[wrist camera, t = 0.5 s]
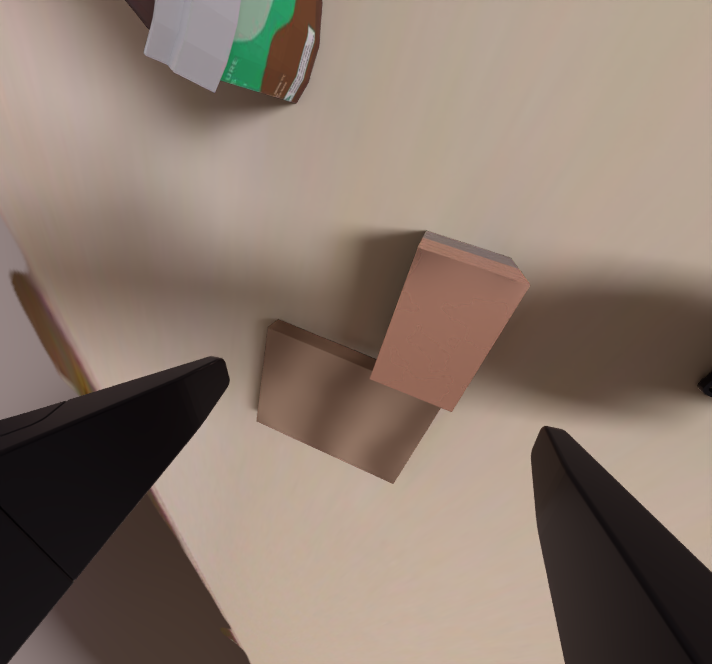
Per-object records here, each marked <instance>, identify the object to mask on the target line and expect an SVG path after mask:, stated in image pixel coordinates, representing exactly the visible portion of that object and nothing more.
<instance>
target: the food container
mask: <svg viewBox="0 0 712 664" xmlns="http://www.w3.org/2000/svg"><path fill="white" fill-rule="evenodd" d="M125 1H126V2H127V3H128V4H129V6H130V7H131V8H132V9H133V11H134V12H135V13H136V14H137V15H138V17H139V18H140V19H141V20H142V22H143V23H144V24H145V25H146V26H147V28H148V29H149V34H148V38H147V41H146V45H145V49H144V54H145V55H146V56H148V57H150V58H152V59H155V60H157V61H159V62H162V63H164V64H167V65H168V66H169V67H170V69H171V70H172V71H173V72H174V73H176V74H178V75H180V76H182V77H184V78H186V79H188V80H190V81H192V82H194V83H196V84H198V85H200V86H202V87H204V88H206V89H208V90H210V91H212V92H214V93H215V91H216V89H217V86H218V84H219V82H220V80H221V81H224V82H227V83H230V84H234V85H237V86H240V87H244V88H247V89H250V90H253V91H257V92H260V93H263V94H267V95H270V96H273V97H276V98H280V99H283V100H286V101H290V102H293V103H297V102H298V100H299V98H300V97H301V95H302V93H303V91H304V90H305V88H306V86H307V84H308V83H309V79H310V76H311V72H312V69H313V66H314V62H315V59H316V56H317V52H318V49H319V44H320V30H321V16H322V0H125Z"/></svg>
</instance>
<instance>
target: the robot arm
mask: <svg viewBox="0 0 712 664" xmlns="http://www.w3.org/2000/svg"><path fill="white" fill-rule="evenodd" d="M229 382H230V379H229V375H228V371H227V367H226V363H225V361H224V360H223V359H222V358H219V357H214V356H210V357H206V358H203V359H200V360H196V361H193V362H190V363H187V364H183V365H180V366H177V367H174V368H170V369H167V370H164V371H161V372H157V373H154V374H151V375H148V376H144V377H141V378H138V379H135V380H131V381H128V382H125V383H122V384H118V385H115V386H112V387H109V388H105V389H102V390H99V391H96V392H92V393H89V394H86V395H83V396H79V397H76V398H73V399H70V400H68V401H63V402H60V403H57V404H54V405H50V406H47V407H44V408H40V409H37V410H33V411H30V412H27V413H23V414H20V415H17V416H13V417H10V418H6V419H2V420H0V664H8V662H9V661H10V660H11V659H12V657H13V656H14V655H15V654H16V653H17V651H18V650H19V649H20V648H21V646H22V645H23V644H24V643H25V642H26V640H27V639H28V638H29V637H30V635H31V634H32V633H33V632H34V631H35V629H36V628H37V627H38V626H39V624H40V623H41V622H42V621H43V619H44V618H45V617H46V616H47V615H48V613H49V612H50V611H51V610H52V609H53V607H54V606H55V605H56V604H57V602H58V601H59V600H60V599H61V597H62V596H63V595H64V594H65V593H66V591H67V590H68V589H69V588H70V586H71V585H72V584H73V583H74V580H76V579H77V577H78V576H79V575H80V574H81V572H82V571H83V570H84V569H85V568H86V566H87V565H88V564H89V563H90V561H91V560H92V559H93V557H94V556H95V555H96V554H97V553H98V552H99V550H100V549H101V548H102V547H103V546H104V544H105V543H106V542H107V541H108V539H109V538H110V537H111V536H112V535H113V533H114V532H115V531H116V529H117V528H118V527H119V526H120V525H121V524H122V522H123V521H124V520H125V519H126V517H127V516H128V515H129V514H130V512H131V511H132V510H133V509H134V508H135V506H136V505H137V504H138V502H139V501H140V500H141V499H142V498H143V497H144V495H145V494H146V493H147V492H148V490H149V489H150V488H151V487H152V486H153V484H154V483H155V482H156V481H157V479H158V478H159V477H160V476H161V475H162V473H163V472H164V471H165V470H166V468H167V467H168V466H169V465H170V464H171V462H172V461H173V460H174V459H175V457H176V456H177V455H178V454H179V453H180V451H181V450H182V449H183V448H184V446H185V445H186V444H187V443H188V442H189V440H190V439H191V438H192V437H193V435H194V434H195V433H196V432H197V430H198V429H199V428H200V427H201V425H202V424H203V422H204V421H205V420H206V418H207V417H208V415H209V414H210V412H211V411H212V409H213V408H214V406H215V405H216V403H217V402H218V400H219V399H220V397H221V396H222V395H223V393H224V392H225V390H226V389H227V387H228V385H229ZM710 387H712V372H711V373H710V374H709V375H707V376H706V377H705V378H704V379H702V380H701V381H700V382H699V383H698V388H699V389H700V390H701V391H702V392H703V393H704V394H706V395H708V396H710V397H712V388H710ZM531 465H532V477H533V488H534V500H535V511H536V521H537V528H538V534H539V539H540V544H541V549H542V554H543V559H544V564H545V568H546V573H547V578H548V583H549V588H550V593H551V598H552V603H553V607H554V612H555V617H556V622H557V627H558V632H559V637H560V642H561V646H562V651H563V656H564V661H565V664H712V572H711V571H710V570H709V569H708V568H707V567H706V566H705V565H704V564H703V563H702V562H701V561H699V560H698V559H697V558H696V557H695V556H694V555H693V554H692V553H691V552H690V551H689V550H688V549H687V548H686V547H685V546H684V545H683V544H682V543H681V542H680V541H679V540H678V539H677V538H676V537H675V536H674V535H673V534H672V533H671V532H669V531H668V530H667V529H666V528H665V527H664V526H663V525H662V524H661V523H660V522H659V521H658V520H657V519H656V518H655V517H654V516H653V515H652V514H651V513H650V512H649V511H648V510H647V509H646V508H645V507H644V506H643V505H642V504H641V503H639V502H638V501H637V500H636V499H635V498H634V497H633V496H632V495H631V494H630V493H629V492H628V491H627V490H626V489H625V488H624V487H623V486H622V485H621V484H620V483H619V482H618V481H617V480H616V479H615V478H614V477H613V476H612V475H611V474H609V473H608V472H607V471H606V470H605V469H604V468H603V467H602V466H601V465H600V464H599V463H598V462H597V461H596V460H595V459H594V458H593V457H592V456H591V455H590V454H589V453H588V452H587V451H586V450H585V449H584V448H583V447H582V446H581V445H580V444H578V443H577V442H576V441H575V440H574V439H573V438H572V437H571V436H570V435H569V434H568V433H567V432H566V431H564V430H562V429H559V428H554V427H549V426H544V427H542V428H541V430H540V432H539V434H538V436H537V439H536V441H535V444H534V446H533V448H532V452H531Z"/></svg>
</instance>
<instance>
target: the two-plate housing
mask: <svg viewBox="0 0 712 664" xmlns="http://www.w3.org/2000/svg"><path fill="white" fill-rule="evenodd" d="M529 287H530V284H529V282H528V281H527V279H526V278H525V277H524V275H523V274H522V272H521V271H520V270H519V268H518V267H517V265H516V264H515V263H514V261H513V260H512V258H510V257H507V256H504V255H501V254H498V253H495V252H492V251H489V250H485V249H482V248H479V247H476V246H473V245H470V244H467V243H464V242H461V241H458V240H455V239H451V238H448V237H445V236H442V235H439V234H436V233H433V232H430V231H427V230H426V232H425V234H424V236H423V238H422V240H421V242H420V244H419V246H418V248H417V251H416V254H415V256H414V259H413V262H412V264H411V267H410V270H409V273H408V275H407V278H406V281H405V284H404V286H403V289H402V292H401V295H400V297H399V300H398V303H397V306H396V308H395V311H394V314H393V316H392V319H391V322H390V325H389V327H388V330H387V333H386V336H385V338H384V341H383V344H382V347H381V349H380V352H379V355H378V358H377V360H376V363H375V366H374V368H373V371H372V374H371V377H370V379H371V380H373V381H376V382H378V383H381V384H383V385H386V386H388V387H391V388H393V389H396V390H398V391H401V392H403V393H406V394H408V395H411V396H413V397H416V398H418V399H420V400H423V401H425V402H428V403H430V404H433V405H435V406H438V407H440V408H443V409H445V410H448V411H450V412H452V411H453V409H454V407H455V406H456V404H457V403H458V401H459V399H460V398H461V396H462V395H463V393H464V391H465V390H466V388H467V387H468V385H469V383H470V382H471V380H472V378H473V377H474V375H475V374H476V372H477V370H478V369H479V367H480V366H481V364H482V362H483V361H484V359H485V357H486V356H487V354H488V353H489V351H490V349H491V348H492V346H493V345H494V343H495V341H496V340H497V338H498V337H499V335H500V333H501V332H502V330H503V328H504V327H505V325H506V324H507V322H508V320H509V319H510V317H511V316H512V314H513V312H514V311H515V309H516V308H517V306H518V304H519V303H520V301H521V299H522V298H523V296H524V295H525V293H526V291H527V290H528V288H529Z"/></svg>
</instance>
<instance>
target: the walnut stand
mask: <svg viewBox="0 0 712 664" xmlns="http://www.w3.org/2000/svg"><path fill="white" fill-rule="evenodd" d="M375 363H376V359H374V358H371V357H369V356H366V355H364V354H362V353H359V352H357V351H354V350H352V349H349V348H347V347H345V346H342V345H340V344H337V343H335V342H332V341H330V340H327V339H325V338H323V337H320V336H318V335H315V334H313V333H310V332H308V331H305V330H303V329H301V328H298V327H296V326H293V325H291V324H288V323H286V322H284V321H281V320H279V319H278V320H277V321H275V322H274V323H273V324H272V325H270V326H269V327H268V330H267V339H266V347H265V355H264V363H263V372H262V380H261V388H260V397H259V405H258V413H257V422H259V423H261V424H264V425H266V426H268V427H270V428H272V429H275V430H277V431H279V432H281V433H283V434H285V435H288V436H290V437H292V438H294V439H296V440H298V441H301V442H303V443H305V444H307V445H309V446H312V447H314V448H316V449H318V450H320V451H322V452H325V453H327V454H329V455H331V456H333V457H336V458H338V459H340V460H342V461H344V462H346V463H349V464H351V465H353V466H355V467H357V468H360V469H362V470H364V471H366V472H368V473H370V474H373V475H375V476H377V477H379V478H381V479H384V480H386V481H388V482H390V483H392V484H394V482H395V480H396V479H397V477H398V476H399V474H400V472H401V471H402V469H403V468H404V466H405V464H406V463H407V461H408V460H409V458H410V456H411V455H412V453H413V452H414V450H415V448H416V447H417V445H418V443H419V442H420V440H421V439H422V437H423V435H424V434H425V432H426V431H427V429H428V427H429V426H430V424H431V423H432V421H433V419H434V418H435V416H436V415H437V413H438V411H439V410H440V407H438V406H435V405H433V404H430V403H428V402H425V401H423V400H420V399H418V398H416V397H413V396H411V395H408V394H406V393H403V392H401V391H398V390H396V389H393V388H391V387H388V386H386V385H383V384H381V383H378V382H376V381H373V380H371V379H370V377H371V374H372V371H373V368H374V366H375Z"/></svg>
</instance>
